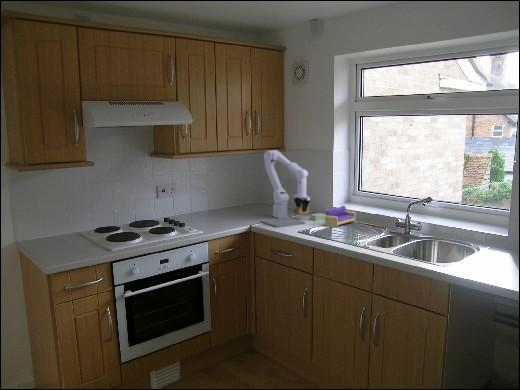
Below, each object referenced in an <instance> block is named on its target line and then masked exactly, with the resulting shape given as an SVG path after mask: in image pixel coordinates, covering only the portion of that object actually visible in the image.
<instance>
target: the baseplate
mask: <svg viewBox="0 0 520 390" xmlns="http://www.w3.org/2000/svg"><path fill="white" fill-rule="evenodd" d="M260 223H261V224H264V223H265V224H264V225H267V226H270V227H273V228H283V227H289V226H290V227H291V226H297V225H298V226H299V225H304V224H305V221H303V220H299V219H296V218H292V217H290V216H289V217H285V218H270V219H262V220H260Z"/></svg>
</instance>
